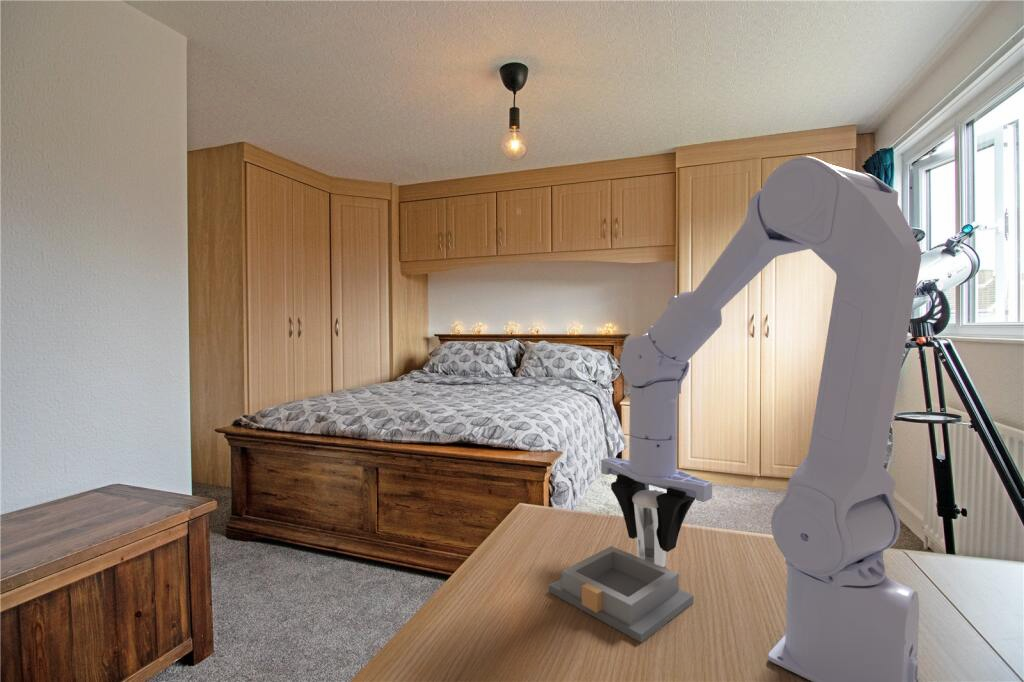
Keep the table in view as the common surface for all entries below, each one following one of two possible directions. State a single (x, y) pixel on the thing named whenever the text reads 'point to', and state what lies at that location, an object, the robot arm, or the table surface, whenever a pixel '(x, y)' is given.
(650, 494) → the milkshake
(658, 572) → the box
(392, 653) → the table surface
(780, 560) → the table surface
